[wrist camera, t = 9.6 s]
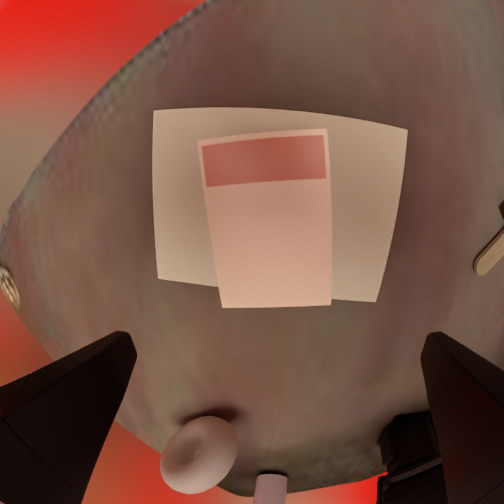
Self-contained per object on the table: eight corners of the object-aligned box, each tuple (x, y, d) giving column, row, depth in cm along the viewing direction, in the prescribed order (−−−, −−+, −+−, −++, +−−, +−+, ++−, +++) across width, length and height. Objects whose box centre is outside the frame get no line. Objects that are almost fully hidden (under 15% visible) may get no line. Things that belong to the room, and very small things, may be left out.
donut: (229, 399, 25) (207, 485, 16) (251, 416, 26) (236, 497, 17) (170, 419, 29) (143, 484, 19) (190, 433, 29) (168, 497, 20)
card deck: (324, 272, 18) (331, 305, 15) (235, 276, 19) (222, 308, 16) (318, 132, 15) (327, 128, 11) (217, 140, 16) (196, 140, 12)
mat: (404, 130, 15) (407, 129, 14) (374, 298, 19) (375, 302, 19) (157, 111, 16) (153, 110, 16) (160, 275, 21) (158, 278, 20)
